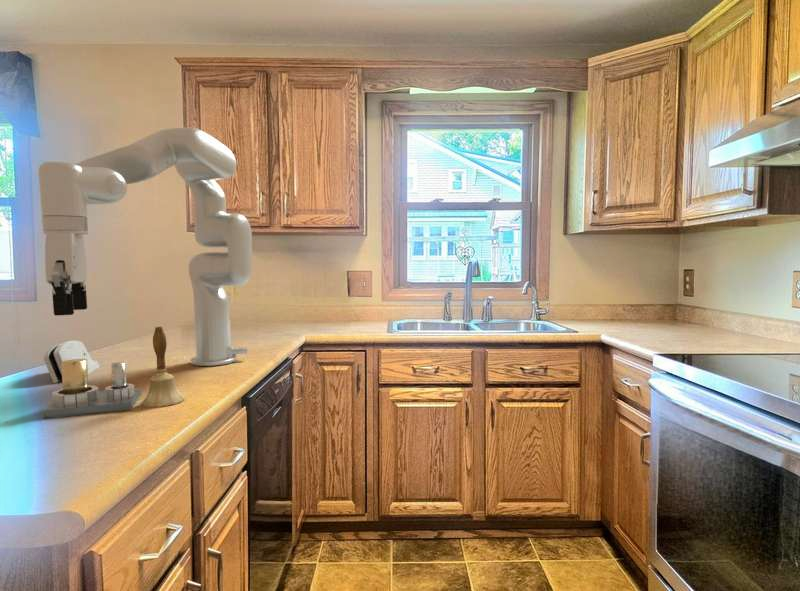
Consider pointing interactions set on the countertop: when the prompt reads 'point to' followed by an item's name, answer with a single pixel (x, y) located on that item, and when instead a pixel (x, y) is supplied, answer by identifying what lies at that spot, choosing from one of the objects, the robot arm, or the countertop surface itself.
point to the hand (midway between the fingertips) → (71, 312)
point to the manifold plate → (96, 397)
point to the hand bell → (161, 377)
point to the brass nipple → (75, 376)
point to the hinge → (67, 358)
